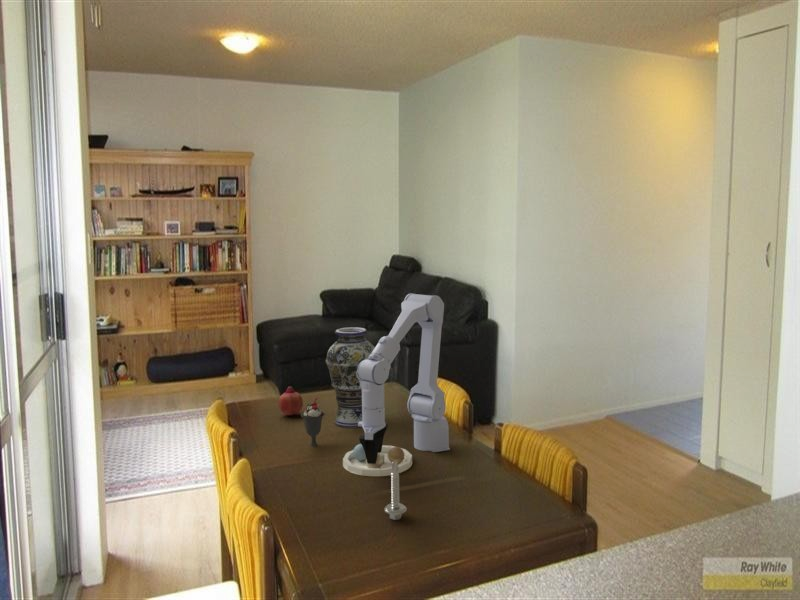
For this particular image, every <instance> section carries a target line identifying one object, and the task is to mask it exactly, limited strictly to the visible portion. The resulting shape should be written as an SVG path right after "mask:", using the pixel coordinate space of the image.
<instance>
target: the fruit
mask: <svg viewBox="0 0 800 600" xmlns="http://www.w3.org/2000/svg"><path fill="white" fill-rule="evenodd" d="M303 401H304V400H303V397H302V396H301V394H300V393H299V392H298V391H297V392H296V391H295V389H294V388H293V387H292V386H291V385H290V386H288V387H287V389H286V391H285V392H283V393H282V394H281V395H280V396H279V398H278V402H277V403H278V404H277V405H278V408H279V410H280V412H281V413H283V415H286V416H290V415H291V416H294V415H296V414H299V413H300V411H302V408H303V407H304V403H303ZM291 416H290V417H291Z"/></svg>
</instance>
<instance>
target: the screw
mask: <svg viewBox="0 0 800 600" xmlns="http://www.w3.org/2000/svg"><path fill="white" fill-rule="evenodd" d="M391 474H392V475H390V477H391V478H390V482H391V483H390V488H391V489H390V490H391V491H390V493H391V494H390V495H391V496H390V500H391V501H390V503H388V504H387V505H385V507H384V513H387V514H389V519H390V520H393V521H397V520H398V521H399V520H401V519H402V515H403V514H404V513H405V512H407V506H406V505H404V504H403V503H401V502H400V473H399V471H398V462H397V461H393V462H392V473H391Z"/></svg>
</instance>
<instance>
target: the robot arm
mask: <svg viewBox="0 0 800 600" xmlns="http://www.w3.org/2000/svg"><path fill="white" fill-rule="evenodd" d="M400 304H401V305H400V308H401V312H400V314H399V316H398V317H397V320H396V321H395V323H394V324H393V326H392V329H391V330H390V331H389V333H388V335H386V336H385V335H384V336H382V337H380V339H379V340H378V342H377V344H376V346H374V347H375V348H374V350H373V351H372V353H371V354H370V356H369V357H368V359H365V360H363V361H362V362H360V364H359V365H358V369H357V371H356V375H357V378H358V379H359V381H360V386H361V388H362V421H360V422H358V426H362V427H361V428H362V429H363V431H364V435H362V434H361V435H359V438H358V441H359V444H362V446H363V448H364V451H365V455H366V459H367V463H368V464H376V461H377V455H378V453H381V450H382V445H384V444H383V443H384V437H385V434H386V431H387V429H388V428H389V427H388V426H389V424H387V422H386V421H385V420H386V416H385V415H386V414H385V411H386V410H385V382H386V381H387V380H388V379H389V377H390V376H389V375H390V370H391V368H392V367H391V364H392V363H393V361H394V359H396V356H397V355H398V354H399V352H400V350H401V345H400V342H401V341H402V340H403V339H404V337H405V336H406V335H407V334H408V332H409V331H410V330H411V328H412V327H413V326H414V324H415V323H417V324H418V325H419V326H420V327H421V340H420V353H419V365H418V376H417V377H418V378H417V379H418V380H417V383H416V384H415V385H414V386H413V387H412V388H411V387H410V388H411V389H410V393H409V397H408V400H407V405H406V406H407V411H408V413H409V414H410V415H411V418H413V447H414V449H416V450H419V451H424V452H425V451H427V452H428V451H429V452H433V453H439V452H440V453H441V452H445V451H450V450H451V448H450V437H449V435H450V431H449V428H450V427H449V422H448V420H447V418H446V417H445V416H444V415H445V413H446V408H447V407H446V406H447V405H446V400H445V392H444V391H443V390H442V388H440V386H439V385H438V377H439V376H438V374H439V361H440V352H441V350H440V349H441V340H442V339H441V337H442V326H443V323H444V313H445V312H444V310H445V303H444V302H443V299H442V298H441V297H440V296H439V295H438V294H437V295H431V294H430V295H429V294H419V293H418V294H416V293H414V292H413V293H412V292H410V293H408V294H407V295H406V296H405V297H404V300H403V301H402V302H401V303H400Z"/></svg>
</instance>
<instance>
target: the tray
mask: <svg viewBox="0 0 800 600" xmlns="http://www.w3.org/2000/svg"><path fill="white" fill-rule="evenodd" d="M393 447H396V446H393V445H384V444H382V450H381V453H379V454H380V455H381V456H382V458H383V464H382V466H381V467H380V468H368V466H367V465H366V460H363V461H359V460H357V459H356V458H355V457H354V455H353V450H354V449H352V450H349V451H347V452H345V454H344V457H342V467H343V468H344V469H345V470H346V471H348V472H349V473H352V474H355V475H357V476H365V477H387V476H391V475H392V474H391V473H392V463H391V462H390V461H389V459H388V452H389V450H390V449H391V448H393ZM400 448H401V449H402V450H403V451H404V459H403V461H402V462H401V463H399V464H398V471H399V473H398V474H401V473H403V472H406V471H407V470H409V469H410V468H411V467H412V465H413V454H411V453H410V451H408V450H407V449H405V448H402V447H400Z"/></svg>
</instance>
